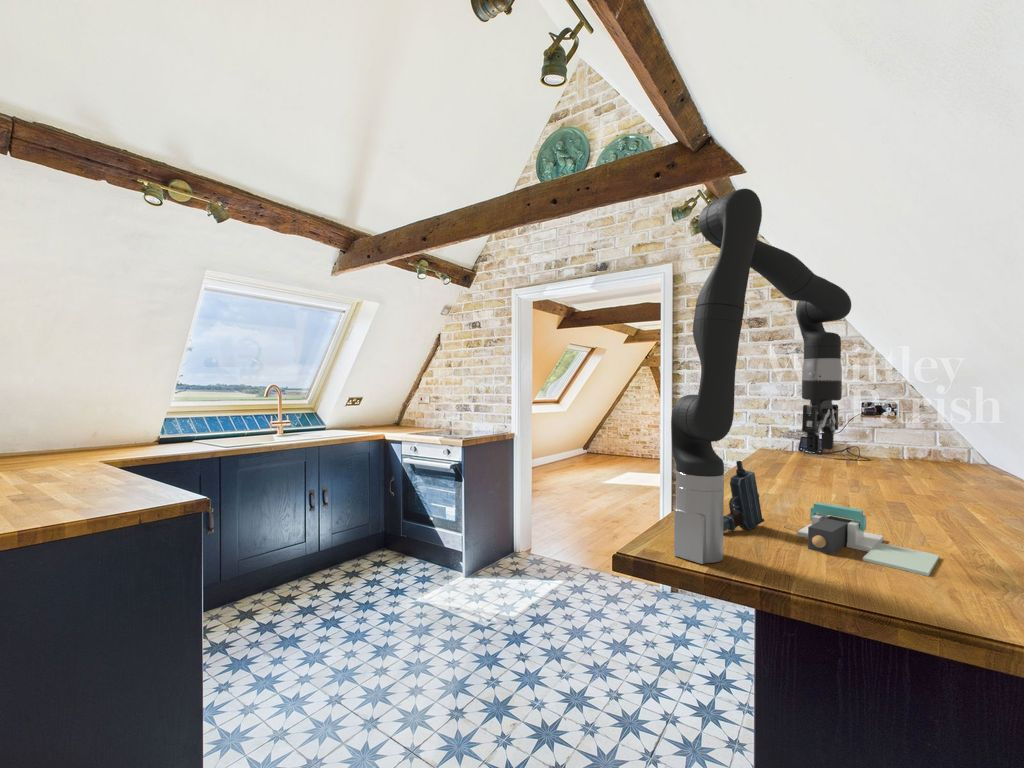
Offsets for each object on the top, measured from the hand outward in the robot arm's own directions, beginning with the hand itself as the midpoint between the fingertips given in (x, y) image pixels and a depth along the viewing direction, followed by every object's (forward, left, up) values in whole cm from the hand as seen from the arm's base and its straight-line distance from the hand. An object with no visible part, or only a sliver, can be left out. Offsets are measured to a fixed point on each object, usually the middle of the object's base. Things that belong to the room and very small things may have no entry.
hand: (820, 450), depth 105 cm
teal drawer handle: (+5, -2, -17) cm, 18 cm away
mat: (+1, -14, -21) cm, 25 cm away
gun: (-5, +16, -21) cm, 27 cm away
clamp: (+7, -2, -21) cm, 22 cm away
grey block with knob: (0, -2, -21) cm, 21 cm away
